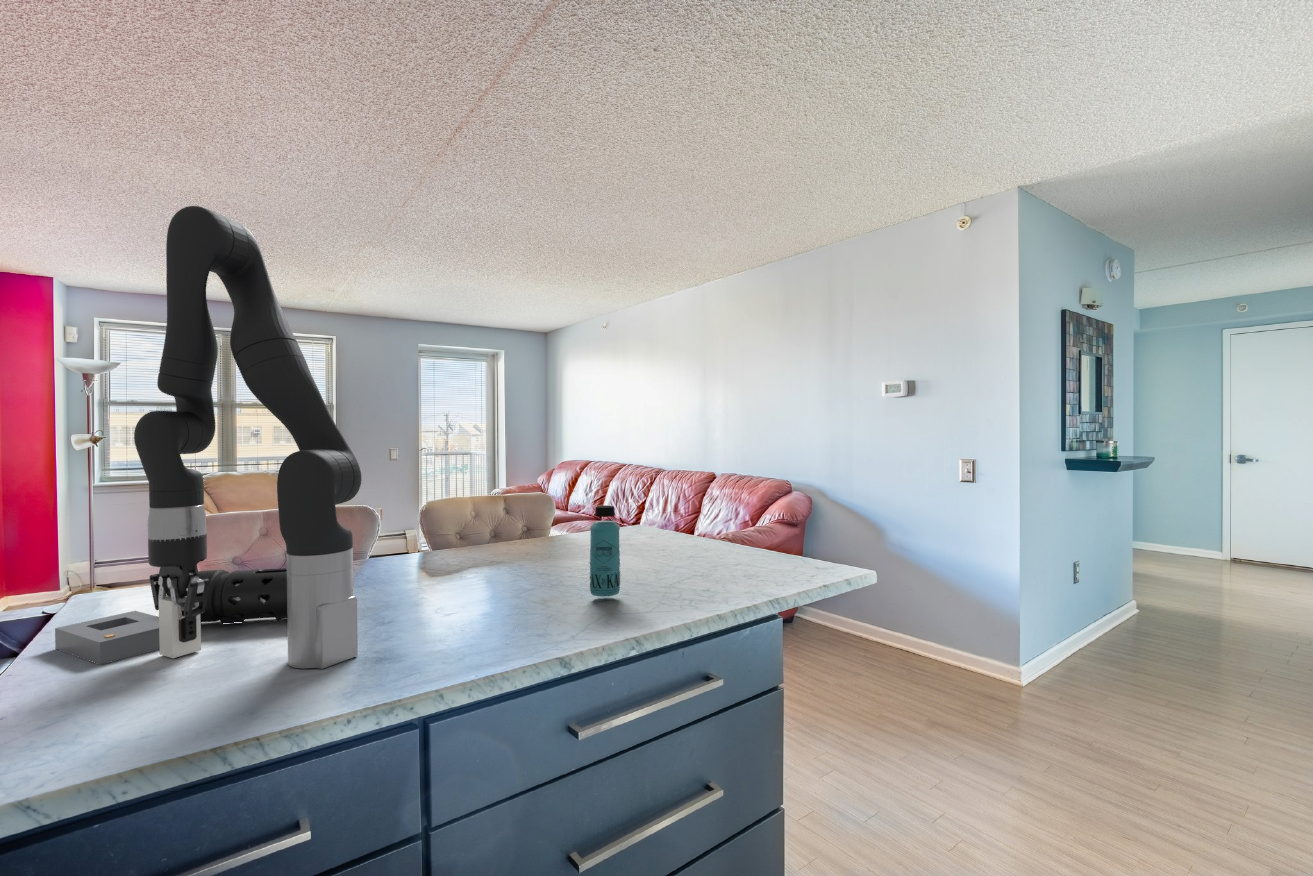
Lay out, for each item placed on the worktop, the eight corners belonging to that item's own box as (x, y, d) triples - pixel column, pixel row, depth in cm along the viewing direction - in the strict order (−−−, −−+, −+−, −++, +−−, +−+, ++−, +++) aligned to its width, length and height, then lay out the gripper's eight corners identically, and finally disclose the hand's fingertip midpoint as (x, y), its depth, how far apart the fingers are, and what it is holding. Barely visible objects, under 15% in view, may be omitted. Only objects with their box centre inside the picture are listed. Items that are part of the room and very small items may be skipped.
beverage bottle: (587, 597, 131) (586, 504, 130) (616, 594, 133) (616, 503, 132) (593, 605, 124) (592, 508, 124) (624, 602, 126) (623, 506, 126)
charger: (201, 650, 100) (199, 594, 99) (172, 658, 96) (171, 600, 96) (188, 646, 101) (186, 591, 101) (159, 654, 98) (158, 597, 98)
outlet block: (181, 642, 104) (181, 621, 104) (100, 664, 94) (99, 641, 94) (135, 629, 111) (135, 609, 111) (55, 648, 102) (54, 627, 102)
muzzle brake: (340, 623, 114) (339, 569, 114) (170, 635, 109) (169, 578, 108) (354, 609, 124) (353, 558, 124) (199, 619, 118) (198, 566, 118)
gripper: (227, 532, 99) (229, 638, 99) (181, 527, 105) (183, 626, 105) (174, 540, 92) (176, 653, 92) (128, 534, 98) (130, 639, 99)
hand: (180, 638), depth 99 cm, fingers closed on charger, 4 cm apart
